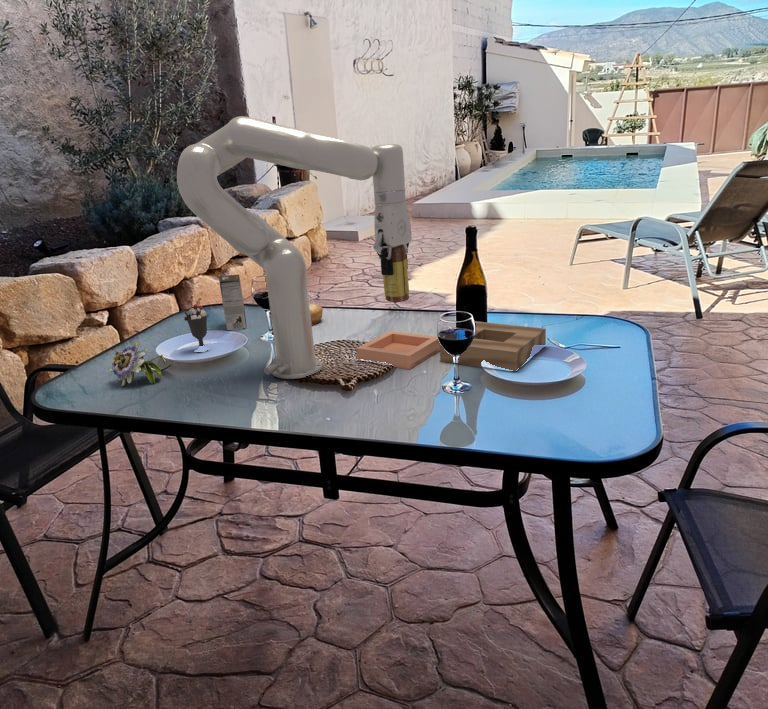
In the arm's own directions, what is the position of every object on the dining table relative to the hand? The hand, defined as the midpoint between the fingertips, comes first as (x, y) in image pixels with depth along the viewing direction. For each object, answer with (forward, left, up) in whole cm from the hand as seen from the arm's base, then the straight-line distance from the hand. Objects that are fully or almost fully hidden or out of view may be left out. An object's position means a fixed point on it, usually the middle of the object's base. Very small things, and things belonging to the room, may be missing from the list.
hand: (394, 271), depth 156 cm
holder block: (+10, -22, -22) cm, 33 cm away
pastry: (+16, +46, -23) cm, 54 cm away
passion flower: (-42, +52, -23) cm, 71 cm away
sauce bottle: (0, 0, -8) cm, 8 cm away
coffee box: (+4, +65, -22) cm, 69 cm away
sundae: (-18, +56, -22) cm, 63 cm away
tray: (0, 0, -22) cm, 22 cm away
